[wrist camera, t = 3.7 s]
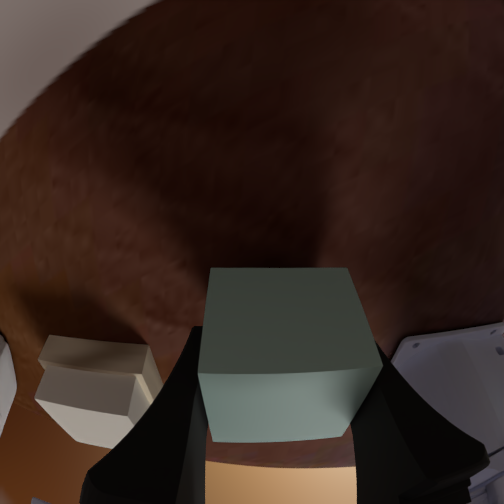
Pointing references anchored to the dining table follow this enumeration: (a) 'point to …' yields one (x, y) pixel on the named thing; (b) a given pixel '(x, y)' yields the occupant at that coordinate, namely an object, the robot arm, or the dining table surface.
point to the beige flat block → (104, 359)
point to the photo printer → (6, 382)
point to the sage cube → (284, 354)
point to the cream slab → (92, 404)
